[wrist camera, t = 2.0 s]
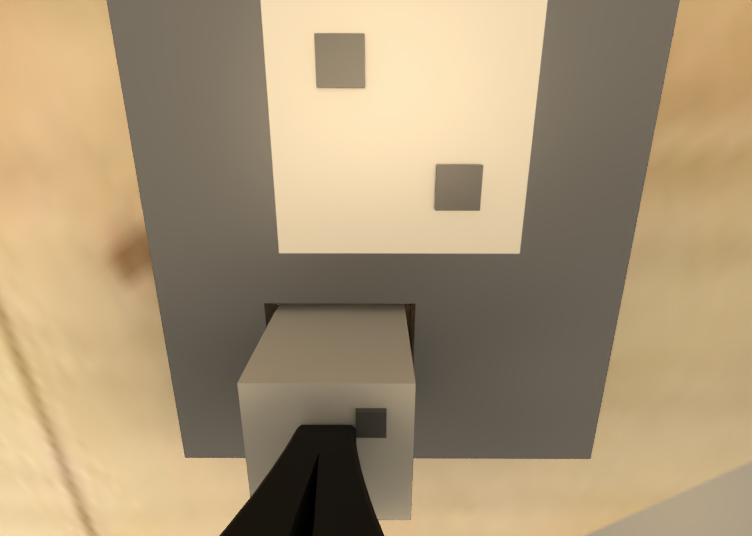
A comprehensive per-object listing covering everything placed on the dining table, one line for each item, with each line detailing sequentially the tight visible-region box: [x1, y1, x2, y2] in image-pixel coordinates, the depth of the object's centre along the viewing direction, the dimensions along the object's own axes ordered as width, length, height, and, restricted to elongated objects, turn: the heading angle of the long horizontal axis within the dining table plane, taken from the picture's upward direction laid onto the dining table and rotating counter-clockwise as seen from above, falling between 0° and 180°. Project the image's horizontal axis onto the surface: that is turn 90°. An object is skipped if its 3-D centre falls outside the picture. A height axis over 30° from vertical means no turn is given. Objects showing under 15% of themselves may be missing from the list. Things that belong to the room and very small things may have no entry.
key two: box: [260, 0, 548, 254], centre depth 9 cm, size 4×4×5 cm
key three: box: [237, 303, 416, 520], centre depth 13 cm, size 4×4×5 cm
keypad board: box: [107, 0, 680, 459], centre depth 12 cm, size 14×22×2 cm, turn 0°
